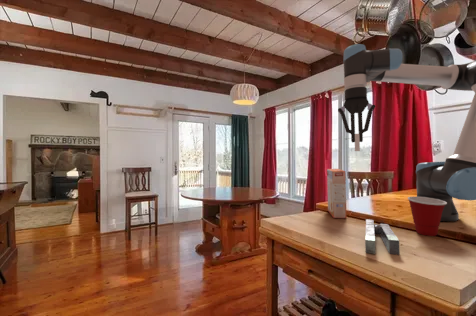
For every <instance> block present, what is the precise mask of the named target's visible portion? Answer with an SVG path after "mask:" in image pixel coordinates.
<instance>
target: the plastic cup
mask: <svg viewBox="0 0 476 316" xmlns="http://www.w3.org/2000/svg"><path fill="white" fill-rule="evenodd" d="M407 200H408V203H409V206H410V207H409V208H410V211H411V214H412V219H413V224H414V228H415V231H416V233H417V234H419V235H423V236H429V237H433V236H438V232H439V227H440V224H441V222H440V220H441V215H442V211H443V208H444V206H445V205H446V204H447V202H445V201H442V200H439V199H433V198H427V197H417V196H408V197H407Z"/></svg>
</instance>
